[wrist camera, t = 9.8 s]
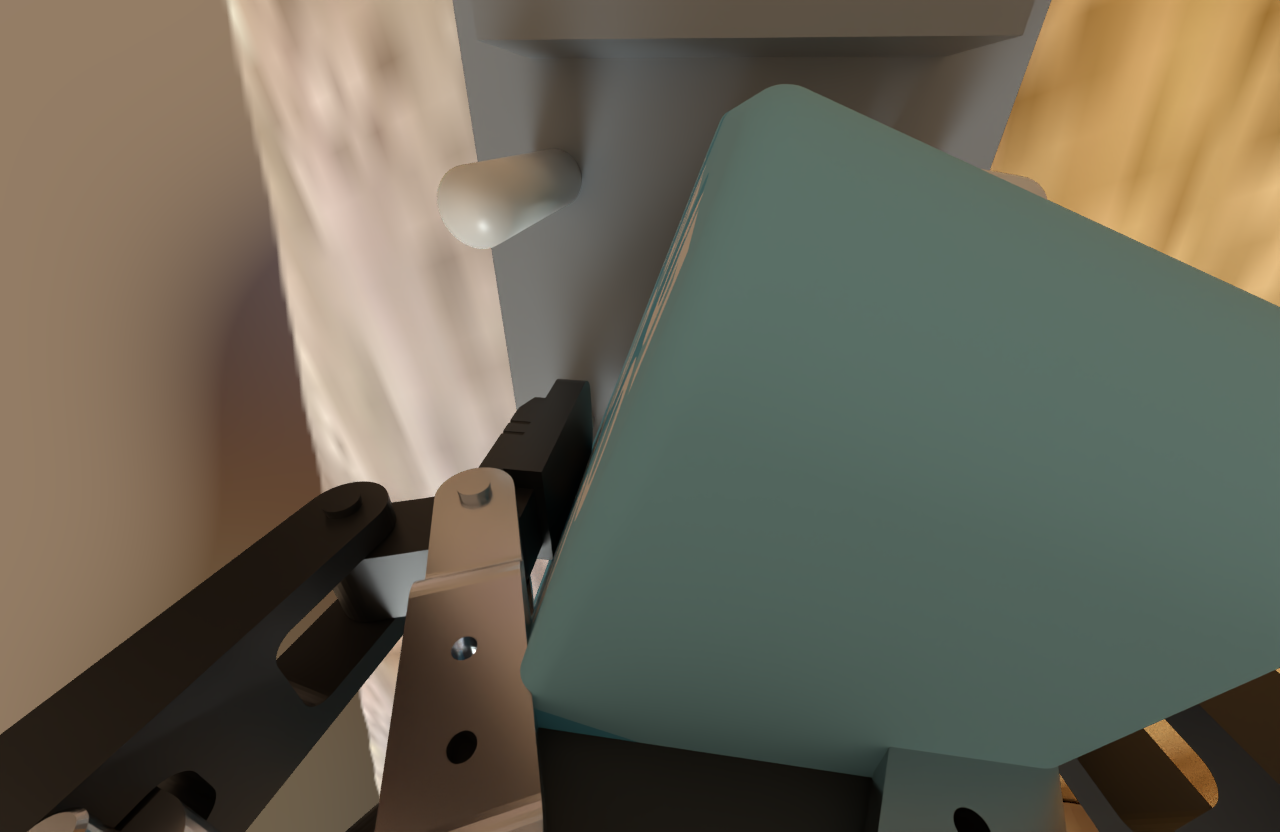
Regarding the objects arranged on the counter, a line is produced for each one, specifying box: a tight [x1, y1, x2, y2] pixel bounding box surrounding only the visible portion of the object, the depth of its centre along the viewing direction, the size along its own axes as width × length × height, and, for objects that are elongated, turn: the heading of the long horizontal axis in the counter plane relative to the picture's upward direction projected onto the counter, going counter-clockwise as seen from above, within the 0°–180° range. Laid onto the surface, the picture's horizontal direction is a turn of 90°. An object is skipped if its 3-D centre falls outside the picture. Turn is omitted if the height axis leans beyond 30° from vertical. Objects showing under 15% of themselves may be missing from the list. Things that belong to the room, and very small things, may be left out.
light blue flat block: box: [520, 84, 1280, 778], centre depth 10 cm, size 12×4×12 cm, turn 160°
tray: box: [437, 0, 1051, 442], centre depth 14 cm, size 15×18×7 cm
